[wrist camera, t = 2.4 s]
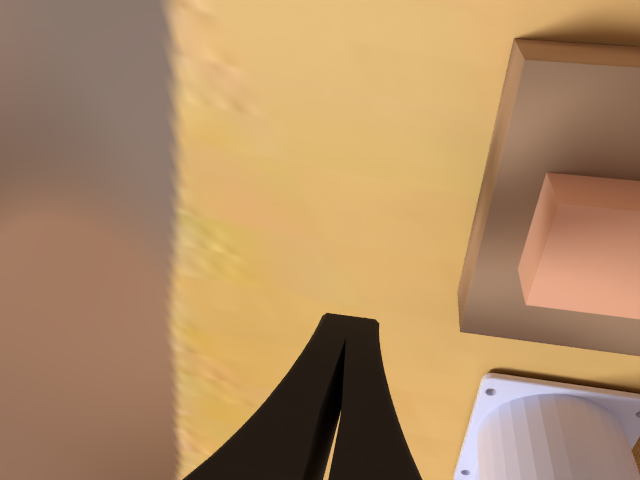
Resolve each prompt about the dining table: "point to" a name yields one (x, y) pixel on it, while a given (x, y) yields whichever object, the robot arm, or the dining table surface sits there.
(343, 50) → the dining table surface
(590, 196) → the terracotta tile
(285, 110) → the dining table surface
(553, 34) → the dining table surface
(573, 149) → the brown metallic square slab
